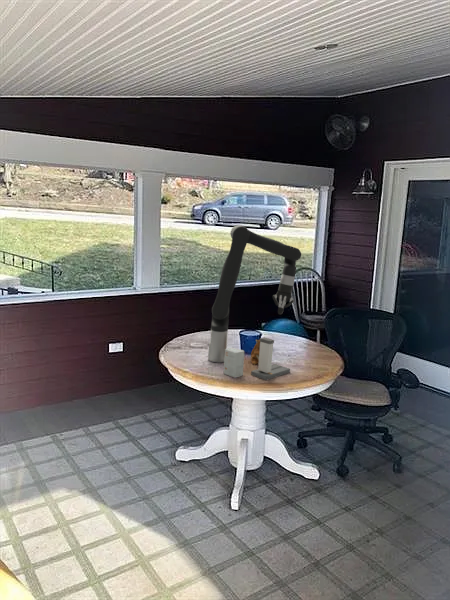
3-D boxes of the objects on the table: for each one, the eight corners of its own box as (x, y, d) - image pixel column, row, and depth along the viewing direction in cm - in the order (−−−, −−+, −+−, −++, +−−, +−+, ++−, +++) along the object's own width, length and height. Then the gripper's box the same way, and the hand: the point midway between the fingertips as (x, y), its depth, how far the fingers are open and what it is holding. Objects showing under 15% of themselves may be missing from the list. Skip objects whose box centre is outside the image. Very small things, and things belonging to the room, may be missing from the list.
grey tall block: (261, 368, 257) (264, 337, 254) (271, 371, 252) (274, 340, 249) (257, 370, 254) (259, 338, 251) (267, 373, 250) (269, 341, 247)
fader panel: (274, 367, 268) (275, 363, 268) (289, 372, 262) (290, 368, 261) (250, 374, 254) (251, 370, 253) (266, 380, 247) (266, 376, 247)
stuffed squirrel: (253, 365, 269) (255, 342, 267) (245, 357, 283) (247, 335, 280) (270, 365, 272) (272, 341, 270) (262, 357, 286) (263, 335, 283)
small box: (243, 375, 252) (244, 350, 250) (234, 378, 247) (236, 353, 245) (231, 371, 257) (233, 347, 255) (223, 373, 253) (224, 349, 250)
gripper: (273, 281, 269) (266, 312, 271) (297, 286, 265) (290, 317, 268) (276, 280, 276) (269, 310, 278) (299, 285, 272) (292, 316, 275)
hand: (279, 314), depth 273 cm, fingers closed
